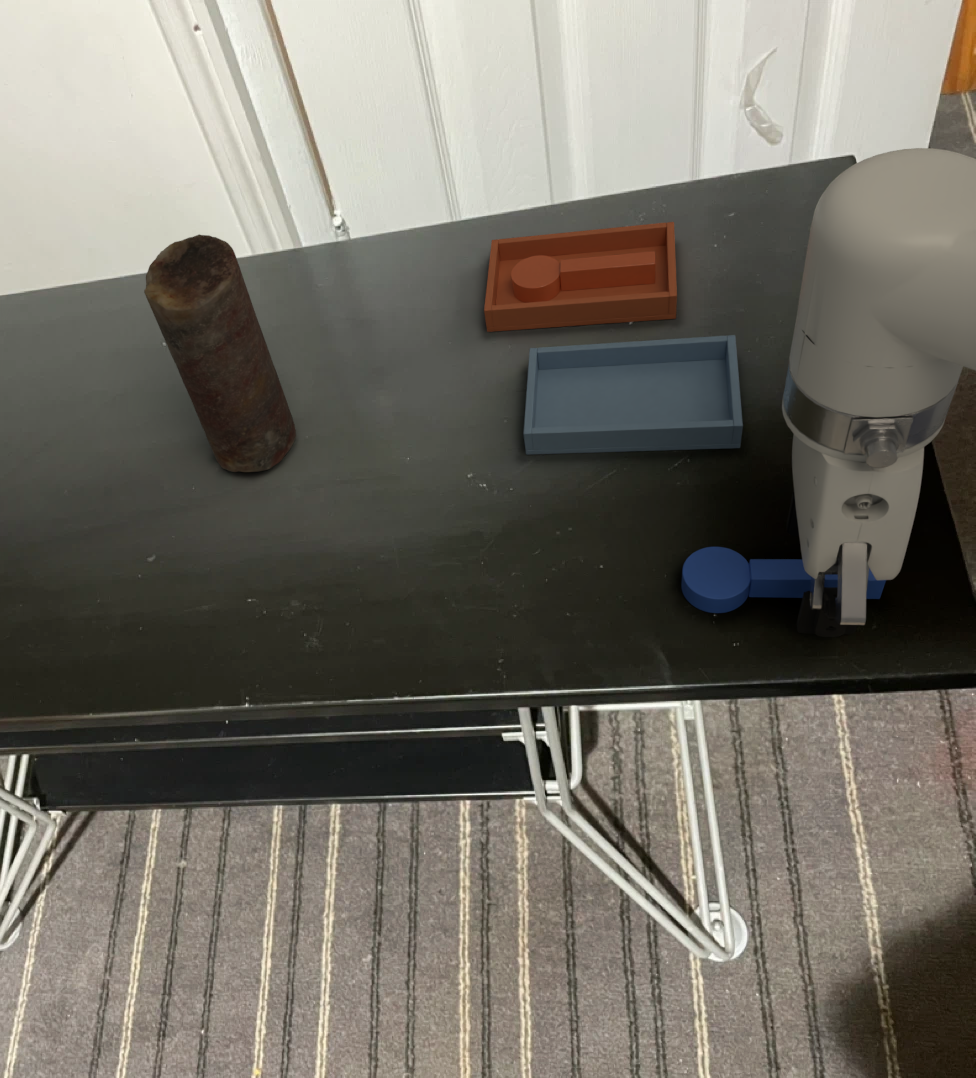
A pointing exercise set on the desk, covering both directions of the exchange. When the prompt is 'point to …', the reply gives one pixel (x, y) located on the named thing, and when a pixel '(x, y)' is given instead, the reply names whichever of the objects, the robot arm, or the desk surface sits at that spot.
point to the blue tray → (634, 396)
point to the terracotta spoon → (579, 274)
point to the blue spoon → (748, 579)
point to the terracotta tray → (585, 303)
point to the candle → (220, 352)
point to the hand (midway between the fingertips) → (818, 578)
